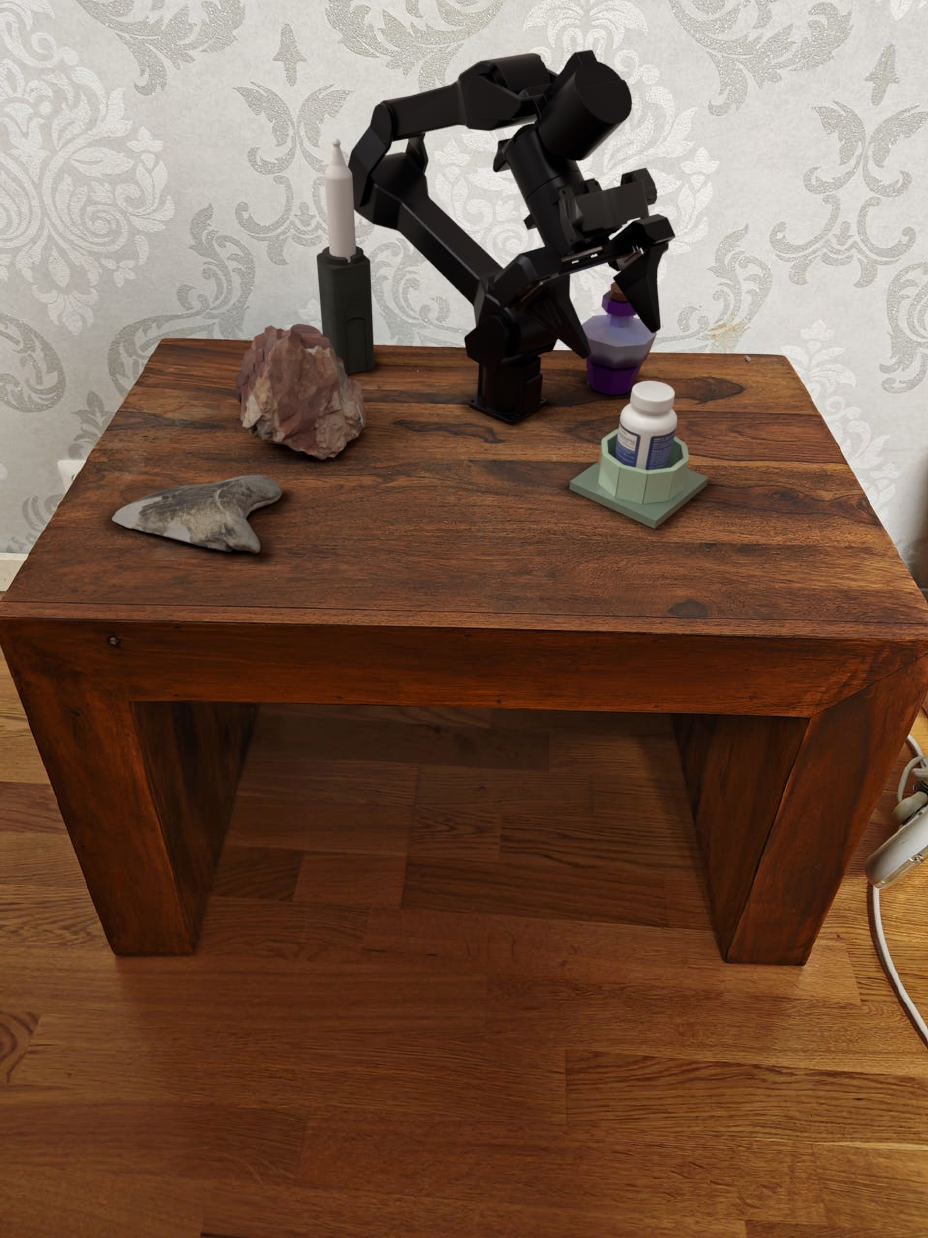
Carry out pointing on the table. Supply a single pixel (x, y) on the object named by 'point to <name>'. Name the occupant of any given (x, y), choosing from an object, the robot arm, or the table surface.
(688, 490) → the cup holder
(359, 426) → the mineral specimen
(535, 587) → the table surface
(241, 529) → the fossil
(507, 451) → the table surface
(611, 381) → the potion bottle
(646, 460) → the pill bottle
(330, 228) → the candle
